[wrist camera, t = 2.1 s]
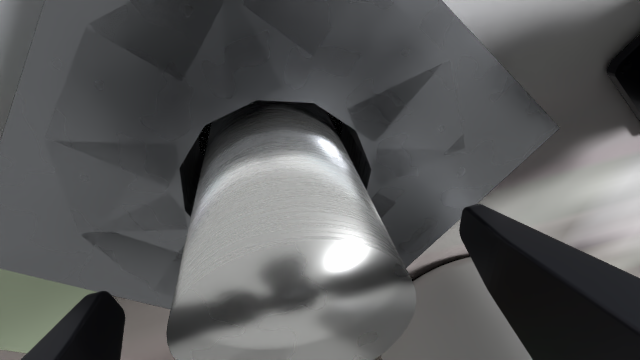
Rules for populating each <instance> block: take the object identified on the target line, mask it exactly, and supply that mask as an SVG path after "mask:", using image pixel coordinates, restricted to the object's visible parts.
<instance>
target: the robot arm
mask: <svg viewBox="0 0 640 360" xmlns="http://www.w3.org/2000/svg"><path fill="white" fill-rule="evenodd" d="M607 73H608V75H609V77H610V78H611V80H612V81H613V83H614V84H615V86H616V87H617V89H618V90H619V92H620V93H621V94H622V96H623V97H624V99H625V100H626V102H627V103H628V105H629V106H630V108H631V109H632V111H633V112H634V113H635V115H636V116H637V118H638V119H639V121H640V35H639V36H638V37H637V38H635V39H634V40H633V41H632V42H631V43H630V44H629V45H628V46H627V47H626V48H625V49H624V50H623V51H622V52H620V53H619V54H618V55H617V56H616V57H615V58H614V59H613V60H612V61H611V62H610V64H609V66H608V69H607ZM459 231H460V236H461V239H462V241H463V243H464V245H465V247H466V249H467V251H468V253H469V255H470V257H471V259H472V261H473V263H474V265H475V267H476V269H477V271H478V273H479V275H480V277H481V279H482V281H483V282H484V284H485V286H486V288H487V290H488V291H489V293H490V295H491V296H492V298H493V300H494V301H495V303H496V304H497V306H498V307H499V309H500V310H501V312H502V313H503V315H504V316H505V318H506V320H507V321H508V323H509V324H510V326H511V327H512V329H513V330H514V332H515V333H516V335H517V336H518V338H519V340H520V341H521V343H522V344H523V346H524V347H525V349H526V350H527V352H528V353H529V355H530V356H531V358H532V360H640V278H638V277H636V276H634V275H632V274H630V273H627V272H625V271H623V270H621V269H619V268H617V267H615V266H612V265H610V264H608V263H606V262H604V261H602V260H599V259H597V258H595V257H593V256H591V255H589V254H587V253H584V252H582V251H580V250H578V249H576V248H574V247H572V246H569V245H567V244H565V243H563V242H561V241H559V240H557V239H554V238H552V237H550V236H548V235H546V234H544V233H542V232H539V231H537V230H535V229H533V228H531V227H529V226H527V225H524V224H522V223H520V222H518V221H516V220H514V219H511V218H509V217H507V216H505V215H503V214H501V213H499V212H496V211H494V210H492V209H490V208H488V207H486V206H484V205H481V204H476V205H472V206H467V207H465V208H464V209H463V210H462V216H461V222H460V229H459ZM124 324H125V313H124V310H123V309H122V307H121V306H120V305H119V304H118V303H117V301H116V300H115V299H114V298H113V297H112V295H111V294H110V293H109V292H107V291H100V292H95V293H91V294H88V295H86V296H85V297H84V298H82V299H81V300H80V301H79V302H78V303H77V304H76V305H75V306H74V307H73V308H72V309H71V310H70V311H69V312H68V313H67V314H66V315H65V316H64V317H63V318H62V319H61V320H60V321H59V322H58V323H57V324H56V325H55V326H54V327H53V328H52V329H51V330H50V331H49V332H48V333H47V334H46V335H45V336H44V337H43V338H42V339H41V340H40V341H39V342H38V343H37V344H36V345H35V346H34V347H33V348H32V349H31V350H30V351H29V352H28V353H27V354H26V355H25V356H24V357H23V358H22V359H21V360H120V357H121V349H122V341H123V332H124Z"/></svg>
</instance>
